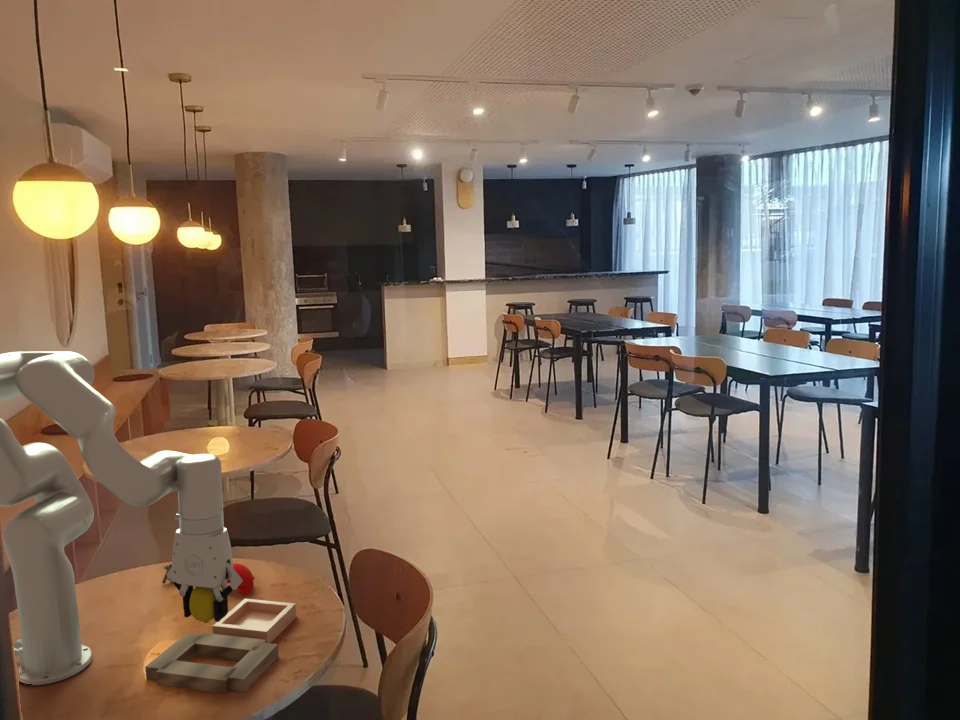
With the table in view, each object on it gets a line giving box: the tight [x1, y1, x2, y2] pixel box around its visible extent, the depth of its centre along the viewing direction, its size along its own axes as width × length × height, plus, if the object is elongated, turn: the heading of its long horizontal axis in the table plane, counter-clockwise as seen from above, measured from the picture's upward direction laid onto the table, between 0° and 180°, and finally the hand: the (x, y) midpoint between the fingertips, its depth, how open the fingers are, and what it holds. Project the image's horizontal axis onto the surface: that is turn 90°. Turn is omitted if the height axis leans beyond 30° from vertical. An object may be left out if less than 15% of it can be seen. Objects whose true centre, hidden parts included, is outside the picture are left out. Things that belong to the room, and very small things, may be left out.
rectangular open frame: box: [144, 632, 279, 695], centre depth 137 cm, size 20×14×2 cm
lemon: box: [189, 586, 217, 624], centre depth 136 cm, size 6×6×8 cm
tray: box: [212, 598, 297, 643], centre depth 152 cm, size 12×12×3 cm
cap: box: [226, 562, 256, 596], centre depth 169 cm, size 8×6×6 cm
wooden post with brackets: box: [161, 563, 173, 585], centre depth 175 cm, size 2×8×4 cm, turn 129°
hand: (205, 615), depth 136 cm, fingers closed on lemon, 5 cm apart
